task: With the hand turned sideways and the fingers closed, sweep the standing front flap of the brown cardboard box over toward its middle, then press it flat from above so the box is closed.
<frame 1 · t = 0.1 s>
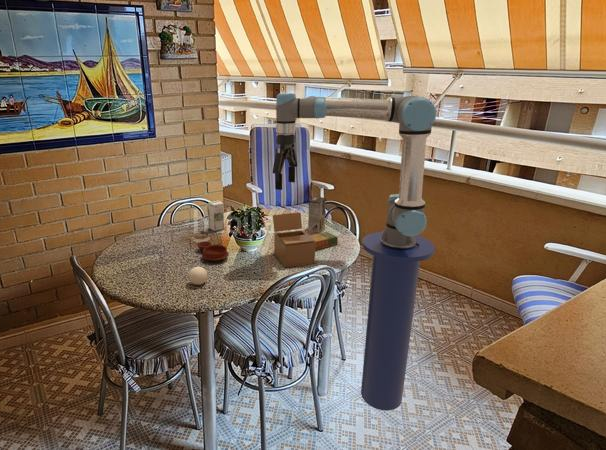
hand: (285, 185, 170), 31 cm above the table, tool pointing down, fingers open, 13 cm apart
syrup box: (216, 229, 212), on the table
pottery: (211, 256, 180), on the table
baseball: (199, 283, 156), on the table
carton: (318, 245, 189), on the table
coffee box: (316, 229, 210), on the table
flap: (287, 221, 180), point 14 cm above the table, hinge at 110.0°
box: (293, 258, 176), on the table
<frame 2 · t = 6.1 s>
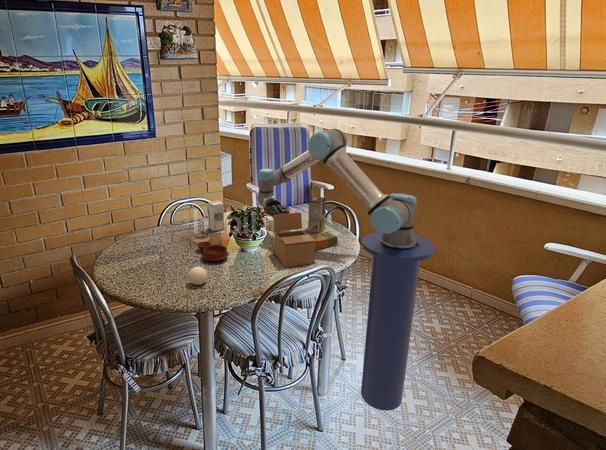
hand: (287, 219, 180), 14 cm above the table, tool horizontal, fingers closed
flap: (287, 222, 179), point 14 cm above the table, hinge at 102.8°, touching gripper
everything else where it was.
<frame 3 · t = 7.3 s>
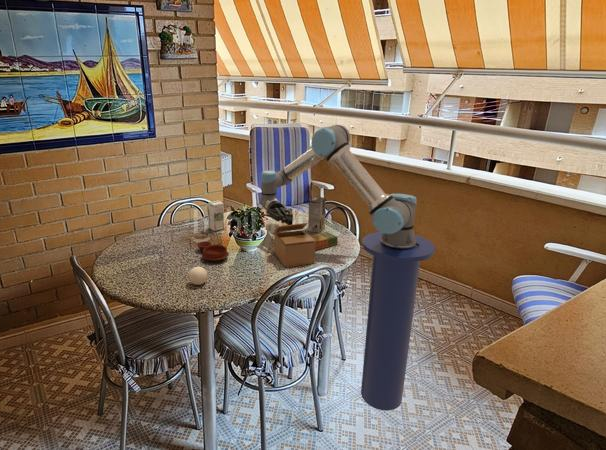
hand: (290, 223, 176), 14 cm above the table, tool horizontal, fingers closed
flap: (290, 227, 176), point 12 cm above the table, hinge at 38.0°, touching gripper
everything else where it was.
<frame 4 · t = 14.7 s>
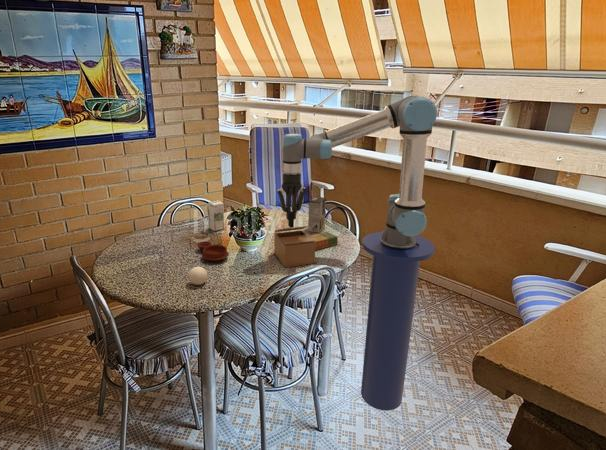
hand: (290, 226, 176), 13 cm above the table, tool pointing down, fingers closed
flap: (291, 229, 176), point 12 cm above the table, hinge at 27.5°, touching gripper
everything else where it was.
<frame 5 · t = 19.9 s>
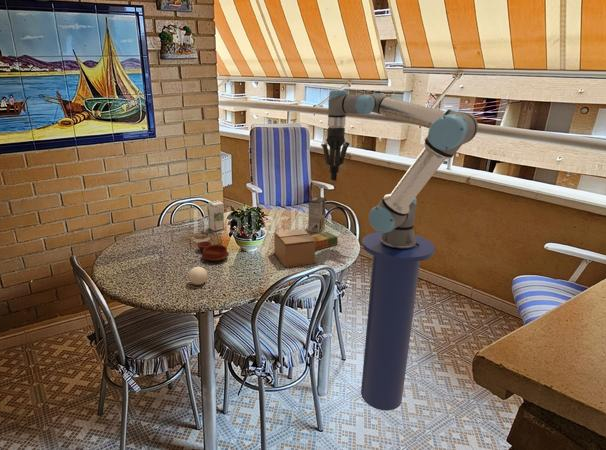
hand: (333, 179, 186), 29 cm above the table, tool pointing down, fingers closed
flap: (291, 233, 176), point 10 cm above the table, hinge at 1.9°
everything else where it was.
at the end: flap at +2° (first picture: +110°) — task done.
